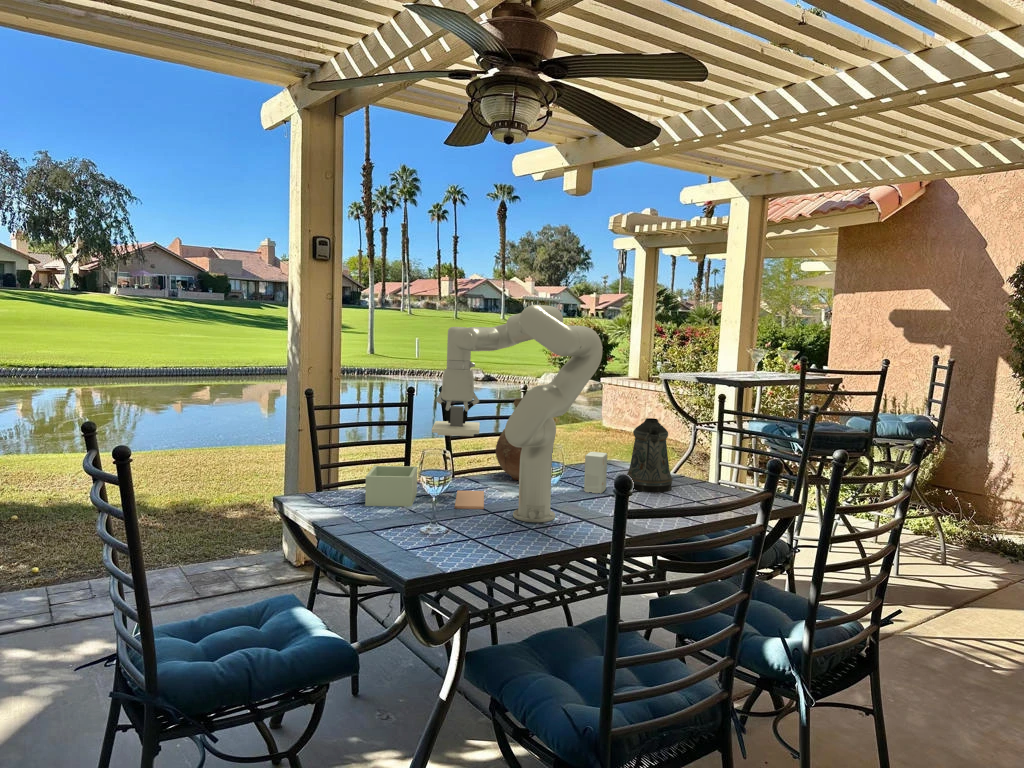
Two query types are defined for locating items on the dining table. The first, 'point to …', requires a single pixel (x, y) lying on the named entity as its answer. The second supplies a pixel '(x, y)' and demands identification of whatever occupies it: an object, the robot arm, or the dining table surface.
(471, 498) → the tile
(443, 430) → the lid
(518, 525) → the dining table surface
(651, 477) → the beer stein
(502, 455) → the jug
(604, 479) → the small box
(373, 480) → the storage tub
